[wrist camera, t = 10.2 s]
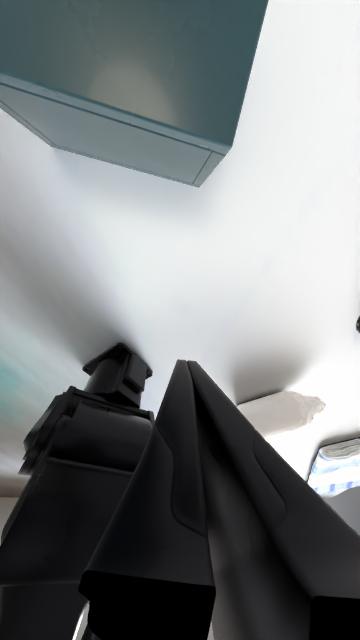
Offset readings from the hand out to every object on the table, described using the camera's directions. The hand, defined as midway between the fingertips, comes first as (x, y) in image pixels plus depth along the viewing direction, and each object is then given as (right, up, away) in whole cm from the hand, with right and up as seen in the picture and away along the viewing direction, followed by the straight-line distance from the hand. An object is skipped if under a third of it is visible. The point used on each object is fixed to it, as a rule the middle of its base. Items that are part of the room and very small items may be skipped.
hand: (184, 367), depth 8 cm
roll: (+15, -11, +21) cm, 28 cm away
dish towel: (+41, -34, +36) cm, 64 cm away
